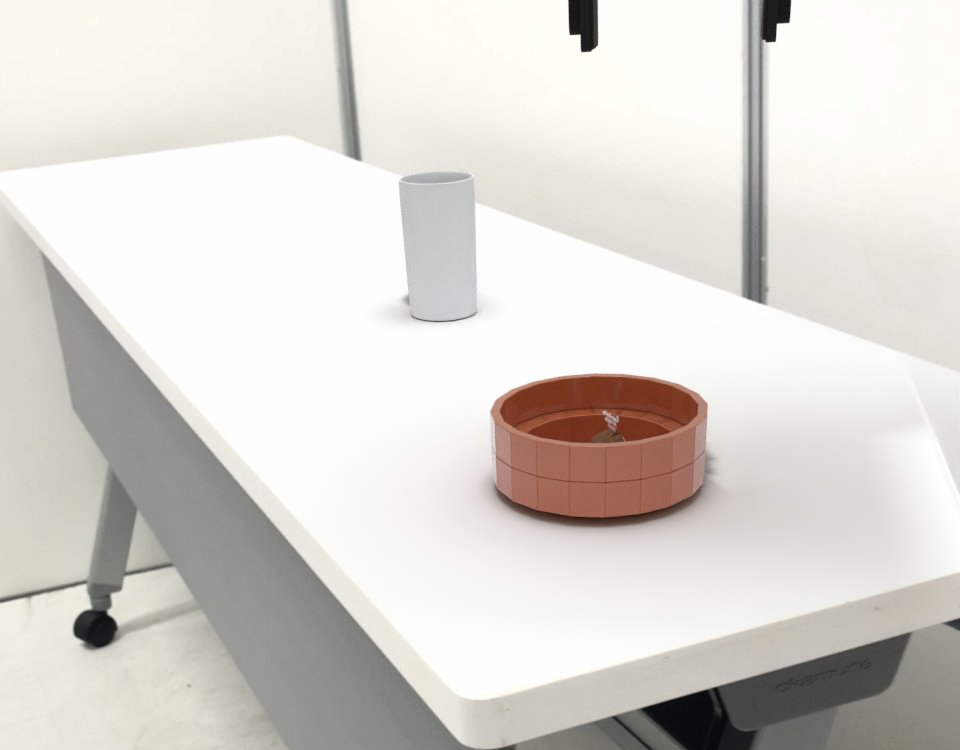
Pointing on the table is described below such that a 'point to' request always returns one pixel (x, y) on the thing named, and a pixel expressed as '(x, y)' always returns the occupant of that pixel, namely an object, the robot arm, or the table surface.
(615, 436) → the chocolate
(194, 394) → the table surface
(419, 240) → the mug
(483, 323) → the table surface
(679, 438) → the bowl
